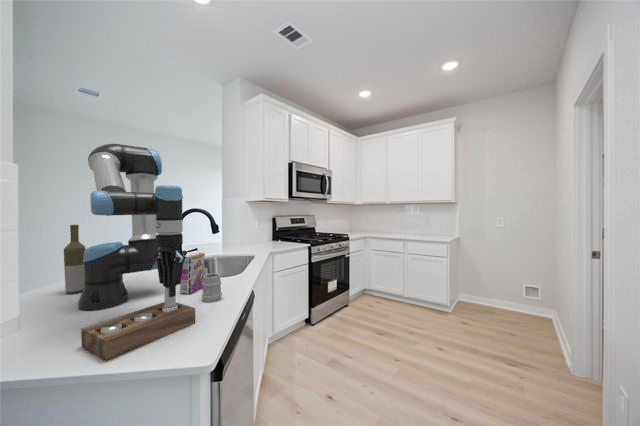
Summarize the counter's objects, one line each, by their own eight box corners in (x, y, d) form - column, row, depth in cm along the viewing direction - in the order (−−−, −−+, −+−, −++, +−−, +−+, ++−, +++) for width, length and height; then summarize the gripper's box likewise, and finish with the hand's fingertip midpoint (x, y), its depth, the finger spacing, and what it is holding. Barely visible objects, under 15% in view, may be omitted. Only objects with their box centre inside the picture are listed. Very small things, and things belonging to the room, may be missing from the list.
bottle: (63, 292, 114) (62, 224, 113) (84, 288, 119) (83, 224, 119) (65, 296, 109) (64, 225, 109) (87, 292, 115) (86, 224, 114)
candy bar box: (190, 294, 111) (190, 257, 111) (179, 294, 112) (179, 256, 112) (205, 287, 122) (205, 252, 122) (195, 286, 123) (195, 252, 123)
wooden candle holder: (81, 346, 70) (81, 328, 69) (169, 314, 91) (169, 300, 90) (106, 361, 63) (105, 341, 63) (195, 323, 84) (195, 307, 84)
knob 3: (159, 323, 83) (159, 307, 83) (172, 317, 87) (172, 303, 87) (167, 326, 81) (167, 310, 81) (181, 320, 85) (181, 305, 85)
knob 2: (131, 333, 76) (131, 316, 76) (147, 327, 80) (147, 311, 80) (139, 337, 74) (139, 320, 74) (155, 330, 78) (155, 314, 78)
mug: (206, 304, 101) (206, 273, 100) (194, 297, 108) (194, 268, 108) (225, 299, 106) (225, 270, 106) (212, 292, 114) (211, 265, 114)
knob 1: (97, 346, 69) (97, 327, 69) (117, 339, 73) (117, 321, 73) (105, 351, 67) (105, 331, 67) (125, 343, 71) (125, 325, 70)
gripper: (145, 233, 83) (146, 306, 83) (169, 235, 77) (170, 314, 77) (169, 231, 90) (169, 299, 90) (192, 233, 83) (193, 305, 84)
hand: (170, 305), depth 84 cm, fingers closed
